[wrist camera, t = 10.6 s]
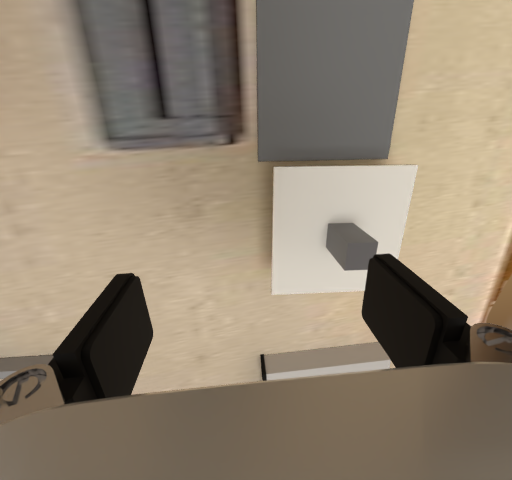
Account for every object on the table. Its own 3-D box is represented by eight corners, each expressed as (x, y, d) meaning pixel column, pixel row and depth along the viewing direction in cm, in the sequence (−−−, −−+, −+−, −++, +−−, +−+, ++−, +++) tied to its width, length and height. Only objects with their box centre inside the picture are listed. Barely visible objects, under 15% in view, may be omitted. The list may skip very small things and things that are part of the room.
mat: (256, -8, 29) (256, -10, 29) (412, -5, 30) (414, -7, 30) (258, 161, 36) (258, 161, 36) (385, 158, 37) (387, 158, 37)
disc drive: (259, 352, 49) (261, 375, 45) (377, 339, 50) (391, 360, 45) (265, 416, 56) (268, 441, 51) (369, 403, 57) (381, 427, 52)
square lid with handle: (273, 166, 29) (283, 175, 23) (414, 164, 30) (461, 172, 23) (271, 292, 35) (278, 326, 28) (389, 287, 36) (420, 318, 29)
